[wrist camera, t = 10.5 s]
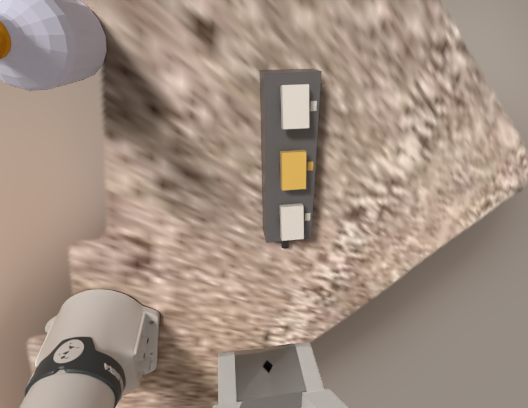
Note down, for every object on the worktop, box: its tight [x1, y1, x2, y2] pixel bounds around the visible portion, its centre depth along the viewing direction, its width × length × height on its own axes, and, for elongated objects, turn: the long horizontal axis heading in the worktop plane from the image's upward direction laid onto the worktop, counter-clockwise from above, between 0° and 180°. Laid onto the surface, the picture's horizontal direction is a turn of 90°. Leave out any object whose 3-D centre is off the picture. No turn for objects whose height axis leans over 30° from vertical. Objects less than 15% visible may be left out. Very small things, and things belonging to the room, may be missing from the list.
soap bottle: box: [0, 0, 107, 91], centre depth 26 cm, size 9×9×25 cm
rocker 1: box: [280, 84, 309, 129], centre depth 38 cm, size 5×3×1 cm, turn 1°
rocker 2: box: [280, 150, 306, 191], centre depth 42 cm, size 5×3×1 cm, turn 1°
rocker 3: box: [279, 203, 304, 241], centre depth 45 cm, size 5×3×1 cm, turn 1°
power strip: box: [260, 69, 321, 249], centre depth 45 cm, size 27×7×5 cm, turn 1°
